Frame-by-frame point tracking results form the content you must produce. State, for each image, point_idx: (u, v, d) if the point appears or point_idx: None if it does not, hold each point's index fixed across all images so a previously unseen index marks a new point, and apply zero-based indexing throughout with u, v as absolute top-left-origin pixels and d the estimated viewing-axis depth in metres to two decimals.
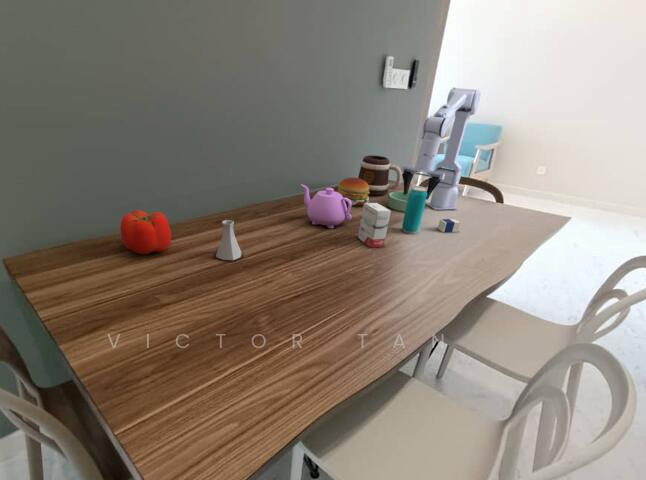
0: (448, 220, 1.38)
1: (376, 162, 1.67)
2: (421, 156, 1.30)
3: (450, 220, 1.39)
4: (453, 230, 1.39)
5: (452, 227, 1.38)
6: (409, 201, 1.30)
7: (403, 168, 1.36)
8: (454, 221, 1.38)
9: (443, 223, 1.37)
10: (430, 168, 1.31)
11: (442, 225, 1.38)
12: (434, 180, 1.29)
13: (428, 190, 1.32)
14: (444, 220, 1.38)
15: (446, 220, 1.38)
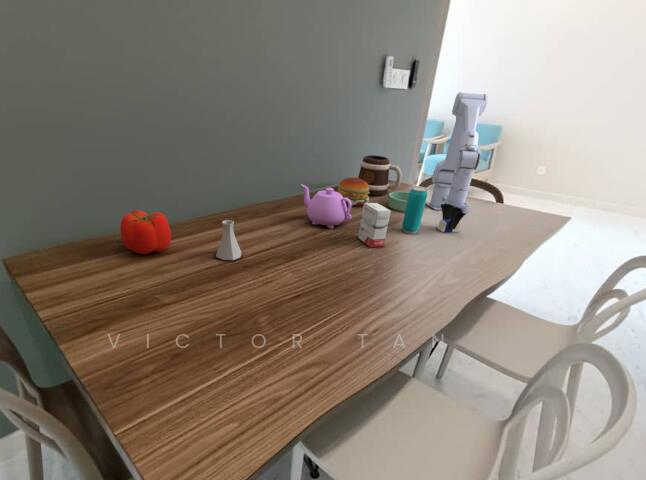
0: (448, 220, 1.38)
1: (376, 162, 1.67)
2: (450, 188, 1.33)
3: None
4: (453, 230, 1.39)
5: None
6: (409, 201, 1.30)
7: (442, 198, 1.40)
8: None
9: (443, 223, 1.37)
10: (458, 201, 1.32)
11: (442, 225, 1.38)
12: (453, 212, 1.32)
13: (450, 220, 1.36)
14: (444, 220, 1.38)
15: (446, 220, 1.38)
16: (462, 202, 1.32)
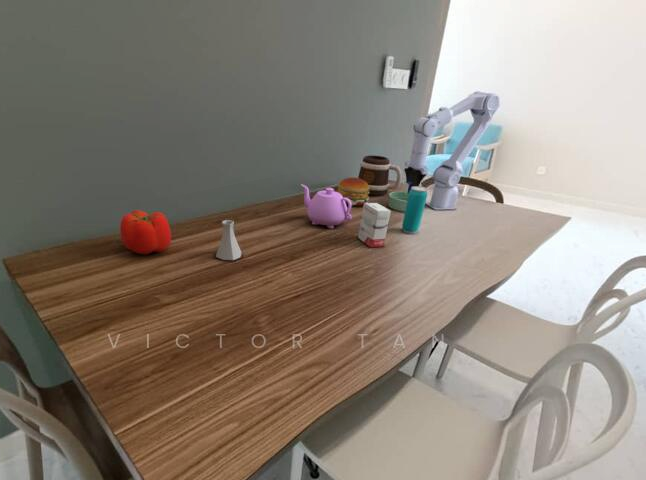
0: (411, 182, 1.54)
1: (376, 162, 1.67)
2: (411, 153, 1.49)
3: None
4: None
5: None
6: (409, 201, 1.30)
7: (405, 163, 1.56)
8: None
9: (406, 185, 1.53)
10: (418, 164, 1.48)
11: (405, 187, 1.54)
12: (413, 174, 1.48)
13: (412, 182, 1.52)
14: (407, 182, 1.54)
15: (409, 182, 1.54)
16: (422, 165, 1.48)
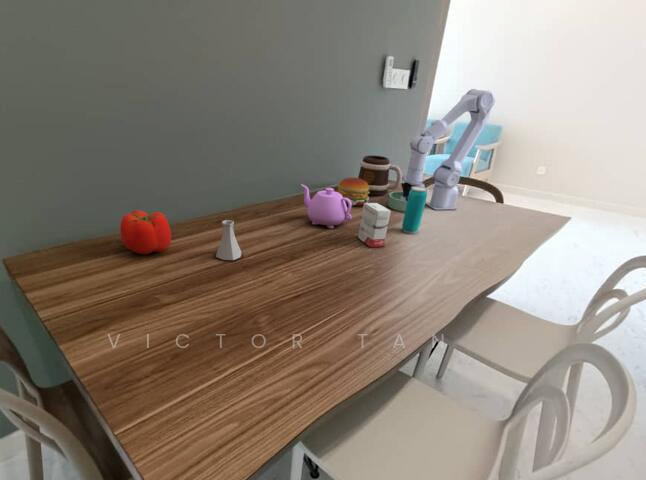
0: None
1: (376, 162, 1.67)
2: (408, 169, 1.54)
3: None
4: None
5: None
6: (409, 201, 1.30)
7: (402, 178, 1.61)
8: None
9: (403, 199, 1.58)
10: (414, 179, 1.53)
11: None
12: (410, 189, 1.53)
13: None
14: (404, 197, 1.59)
15: (406, 197, 1.59)
16: (418, 180, 1.53)
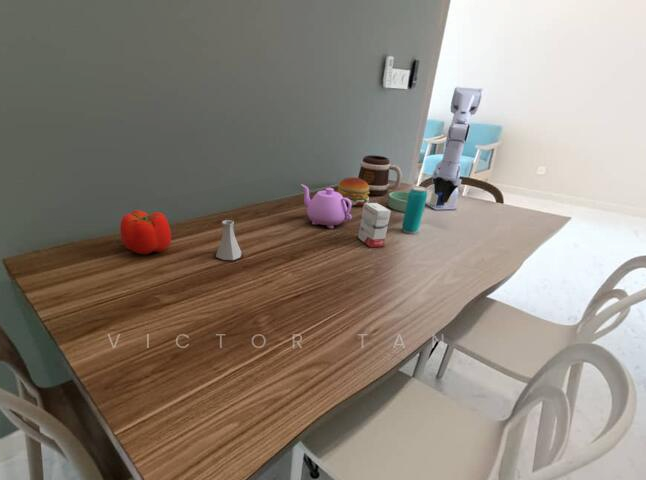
0: (440, 194, 1.41)
1: (376, 162, 1.67)
2: (442, 162, 1.36)
3: None
4: (445, 203, 1.41)
5: None
6: (409, 201, 1.30)
7: (434, 172, 1.43)
8: None
9: (435, 196, 1.40)
10: (449, 174, 1.35)
11: (434, 199, 1.41)
12: (444, 185, 1.35)
13: (442, 194, 1.38)
14: (436, 193, 1.41)
15: (438, 193, 1.41)
16: (453, 175, 1.35)
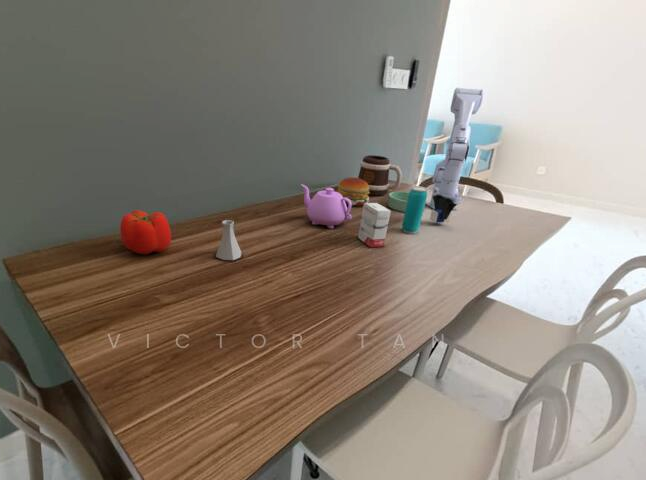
0: (440, 211, 1.43)
1: (376, 162, 1.67)
2: (441, 180, 1.37)
3: None
4: (444, 220, 1.43)
5: None
6: (409, 201, 1.30)
7: (434, 189, 1.45)
8: None
9: (435, 213, 1.42)
10: (449, 192, 1.36)
11: (434, 216, 1.42)
12: (444, 203, 1.37)
13: (442, 211, 1.40)
14: (436, 211, 1.42)
15: (438, 211, 1.43)
16: (453, 193, 1.37)
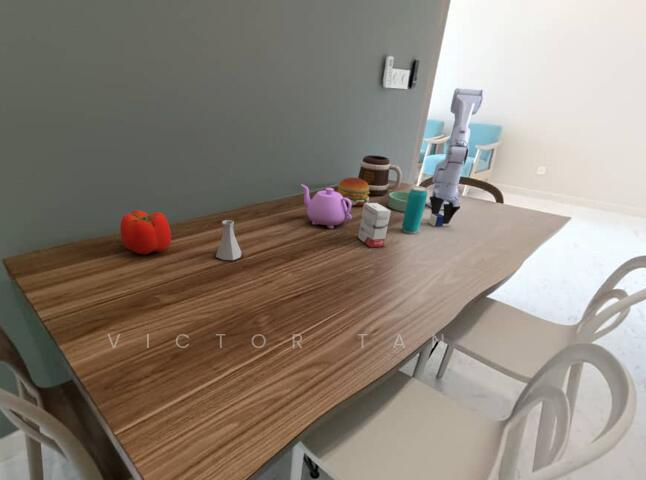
0: (439, 214, 1.43)
1: (376, 162, 1.67)
2: (441, 183, 1.38)
3: (441, 214, 1.44)
4: (443, 224, 1.44)
5: (442, 221, 1.43)
6: (409, 201, 1.30)
7: (433, 192, 1.45)
8: None
9: (434, 217, 1.42)
10: (448, 194, 1.37)
11: (433, 219, 1.43)
12: (446, 207, 1.36)
13: (444, 215, 1.39)
14: (435, 214, 1.43)
15: (437, 214, 1.43)
16: (452, 196, 1.37)
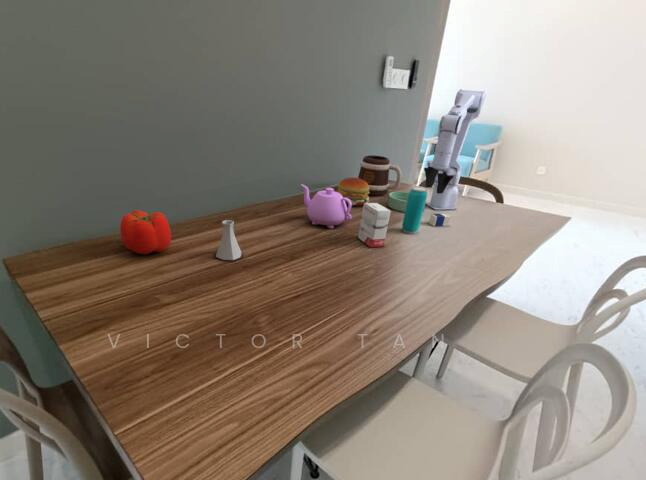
0: (439, 214, 1.43)
1: (376, 162, 1.67)
2: (435, 152, 1.40)
3: (441, 214, 1.44)
4: (443, 224, 1.44)
5: (442, 221, 1.43)
6: (409, 201, 1.30)
7: (428, 163, 1.47)
8: (444, 215, 1.43)
9: (434, 217, 1.42)
10: (442, 164, 1.39)
11: (433, 219, 1.43)
12: (440, 176, 1.38)
13: (438, 185, 1.41)
14: (435, 214, 1.43)
15: (437, 214, 1.43)
16: (446, 165, 1.39)
